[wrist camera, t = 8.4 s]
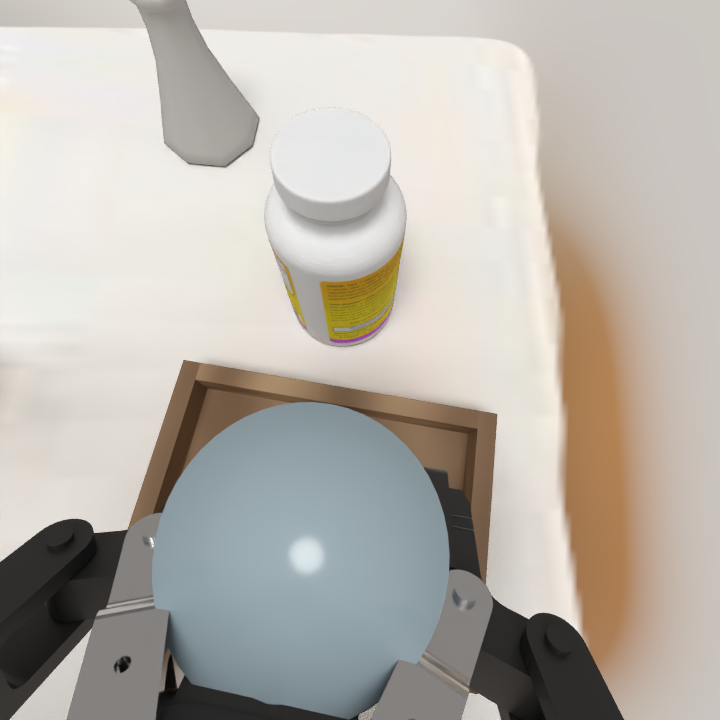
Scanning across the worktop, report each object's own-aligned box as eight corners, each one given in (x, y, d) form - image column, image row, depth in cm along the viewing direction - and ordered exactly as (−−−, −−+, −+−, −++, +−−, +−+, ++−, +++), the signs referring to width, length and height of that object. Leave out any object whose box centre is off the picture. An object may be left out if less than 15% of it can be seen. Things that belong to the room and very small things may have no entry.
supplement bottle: (409, 289, 28) (450, 130, 16) (359, 367, 26) (361, 256, 14) (328, 245, 29) (306, 65, 17) (274, 318, 27) (207, 174, 15)
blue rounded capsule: (255, 579, 16) (105, 690, 7) (287, 442, 18) (203, 381, 9) (391, 607, 16) (430, 765, 7) (410, 464, 18) (463, 426, 8)
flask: (198, 88, 34) (136, -70, 24) (275, 116, 33) (241, -38, 23) (149, 150, 32) (60, 3, 22) (230, 181, 31) (173, 42, 21)
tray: (130, 601, 22) (99, 615, 19) (201, 373, 26) (183, 360, 23) (462, 668, 21) (477, 694, 18) (482, 422, 25) (497, 414, 22)
